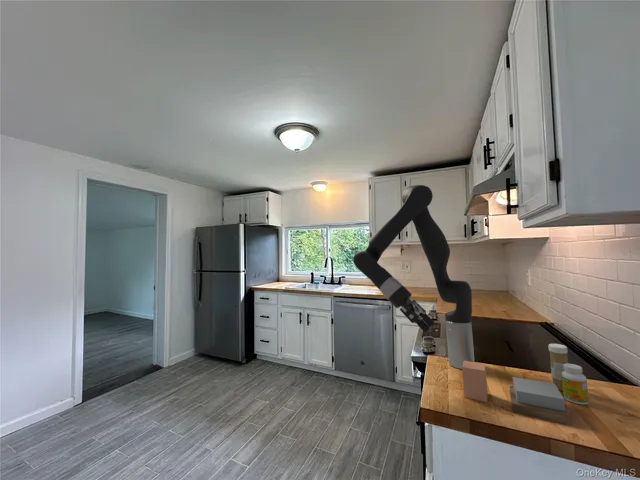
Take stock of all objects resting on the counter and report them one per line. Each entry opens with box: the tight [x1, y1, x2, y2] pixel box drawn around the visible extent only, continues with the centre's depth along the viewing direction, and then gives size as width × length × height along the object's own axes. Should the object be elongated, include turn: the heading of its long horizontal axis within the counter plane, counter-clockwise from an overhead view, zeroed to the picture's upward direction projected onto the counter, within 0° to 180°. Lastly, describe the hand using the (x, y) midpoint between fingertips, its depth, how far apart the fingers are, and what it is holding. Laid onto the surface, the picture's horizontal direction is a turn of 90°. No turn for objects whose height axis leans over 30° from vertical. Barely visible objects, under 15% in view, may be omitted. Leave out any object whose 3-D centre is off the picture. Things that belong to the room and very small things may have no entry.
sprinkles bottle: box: [548, 343, 569, 392], centre depth 86 cm, size 5×5×13 cm
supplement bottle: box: [562, 363, 590, 406], centre depth 79 cm, size 5×5×10 cm
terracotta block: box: [461, 361, 488, 403], centre depth 84 cm, size 6×6×9 cm
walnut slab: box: [509, 385, 572, 426], centre depth 76 cm, size 12×12×3 cm
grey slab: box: [512, 376, 566, 411], centre depth 76 cm, size 10×10×3 cm
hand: (430, 327), depth 92 cm, fingers open, 8 cm apart
